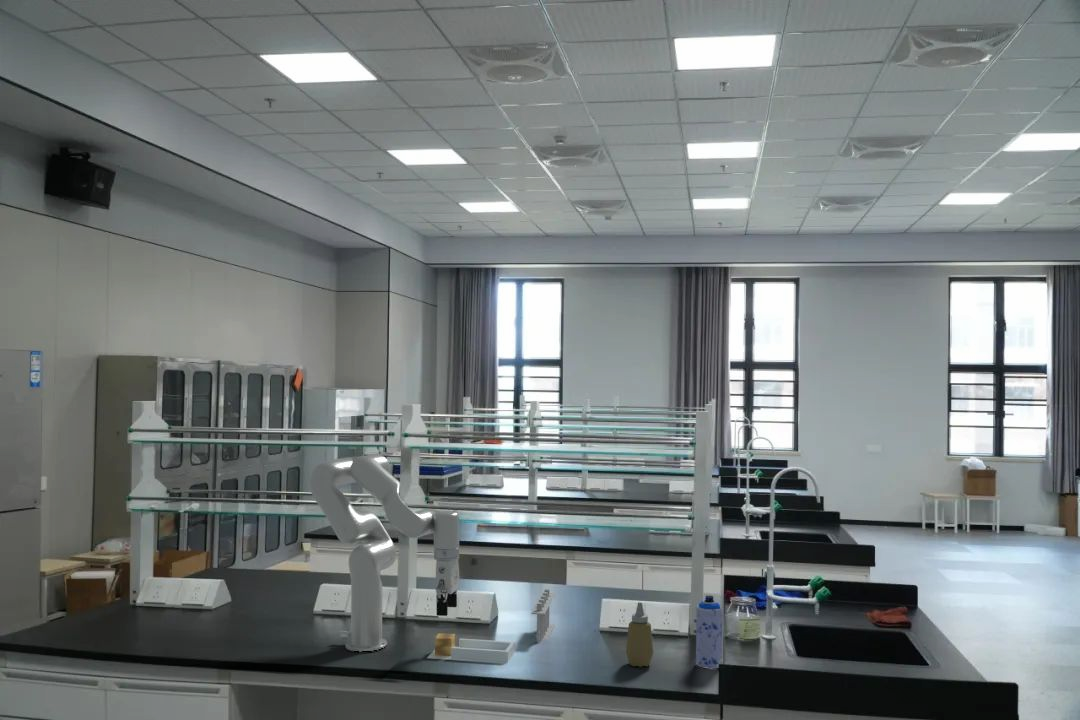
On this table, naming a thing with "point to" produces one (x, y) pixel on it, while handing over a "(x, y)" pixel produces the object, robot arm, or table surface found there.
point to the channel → (480, 651)
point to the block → (444, 644)
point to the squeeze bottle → (639, 639)
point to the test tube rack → (543, 616)
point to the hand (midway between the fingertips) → (446, 611)
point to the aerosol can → (708, 633)
